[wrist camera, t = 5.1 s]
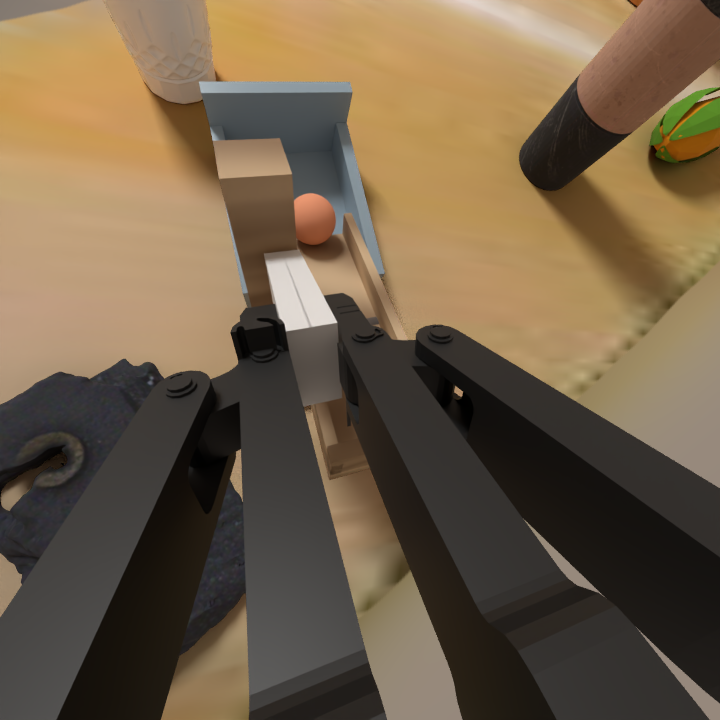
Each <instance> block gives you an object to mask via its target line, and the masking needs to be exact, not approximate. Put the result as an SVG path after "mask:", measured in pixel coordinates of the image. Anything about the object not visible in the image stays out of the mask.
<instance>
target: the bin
mask: <svg viewBox="0 0 720 720" xmlns="http://www.w3.org/2000/svg"><path fill="white" fill-rule="evenodd" d="M199 85H200V90H201V95H202V98H203V102H204V106H205V110H206V114H207V117H208V121H209V125H210V130H211V135H212V140H213V141H219V140H246V139H273V138H280V140H281V143H282V146H283V149H284V152H285V155H286V158H287V161H288V163H289V166H290V169H291V172H292V179H293V195H294V200H295V199H296V198H298V197H299V196H301V195H304V194H308V193H313V194H318V195H320V196H322V197H324V198H325V199H326V200H327V201H328V202H329V203H330V204H331V206H332V207H333V209H334V212H335V216H336V225H335V229H334V232H333V233H332V235H334V234H342V230H343V217H344V214H345V213H352V216H353V218H354V220H355V222H356V225H357V227H358V229H359V231H360V233H361V236H362V238H363V240H364V242H365V245H366V247H367V249H368V251H369V254H370V256H371V258H372V260H373V263H374V265H375V267H376V269H377V271H378V274H379V276H380V278H382V277H383V275H384V274H385V272H384V268H383V264H382V260H381V257H380V253H379V249H378V245H377V241H376V237H375V233H374V229H373V225H372V221H371V217H370V213H369V209H368V205H367V201H366V197H365V193H364V189H363V186H362V182H361V178H360V174H359V170H358V166H357V162H356V158H355V154H354V150H353V146H352V142H351V138H350V134H349V130H348V126H347V117H348V112H349V107H350V102H351V97H352V88H351V84H350V82H199ZM213 145H214V144H213ZM225 205H226V204H225ZM226 210H227V208H226ZM227 216H228V212H227ZM228 221H229V226H230V231H231V236H232V241H233V246H234V251H235V256H236V261H237V266H238V271H239V276H240V281H241V286H242V291H243V295H244V298H245V301H246V304H247V307H248V308H250V307H251V303H250V299H249V295H248V291H247V287H246V284H245V280H244V276H243V272H242V268H241V264H240V260H239V256H238V252H237V248H236V244H235V240H234V236H233V232H232V228H231V224H230V220H229V216H228ZM296 239H297V238H296Z"/></svg>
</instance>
